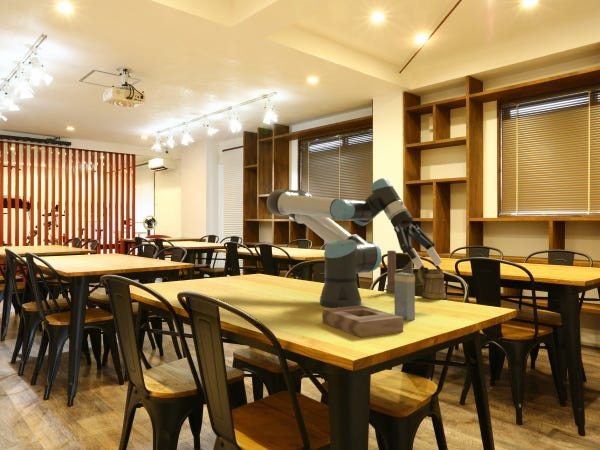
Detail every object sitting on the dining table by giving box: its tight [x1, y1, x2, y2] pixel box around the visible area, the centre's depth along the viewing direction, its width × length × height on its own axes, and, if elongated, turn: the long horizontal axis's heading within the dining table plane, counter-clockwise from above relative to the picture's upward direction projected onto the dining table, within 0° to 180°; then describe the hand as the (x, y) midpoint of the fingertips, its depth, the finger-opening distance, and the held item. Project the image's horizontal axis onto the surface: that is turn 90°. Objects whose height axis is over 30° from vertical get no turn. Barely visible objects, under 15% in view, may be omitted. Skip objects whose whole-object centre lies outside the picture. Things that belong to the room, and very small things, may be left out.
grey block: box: [394, 272, 416, 322], centre depth 143 cm, size 6×3×14 cm, turn 27°
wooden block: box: [385, 250, 414, 294], centre depth 194 cm, size 4×11×18 cm, turn 66°
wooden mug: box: [416, 265, 447, 300], centre depth 184 cm, size 9×14×18 cm, turn 71°
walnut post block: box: [321, 304, 404, 338], centre depth 131 cm, size 20×14×4 cm
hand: (430, 265), depth 157 cm, fingers open, 13 cm apart
